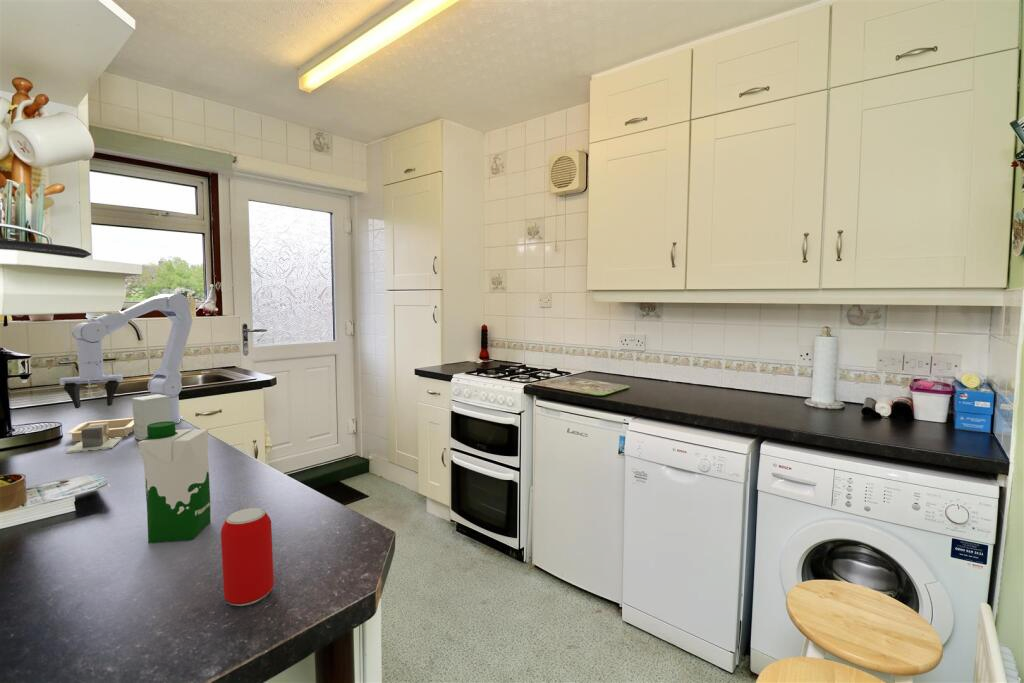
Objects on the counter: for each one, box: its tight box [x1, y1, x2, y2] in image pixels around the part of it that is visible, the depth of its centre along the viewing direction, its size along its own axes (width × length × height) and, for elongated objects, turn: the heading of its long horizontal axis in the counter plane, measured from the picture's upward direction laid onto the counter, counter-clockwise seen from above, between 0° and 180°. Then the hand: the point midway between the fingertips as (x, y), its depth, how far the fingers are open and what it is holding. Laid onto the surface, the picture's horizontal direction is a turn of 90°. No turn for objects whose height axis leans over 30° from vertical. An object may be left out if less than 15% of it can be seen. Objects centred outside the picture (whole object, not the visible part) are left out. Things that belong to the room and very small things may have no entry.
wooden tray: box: [66, 417, 134, 443], centre depth 151 cm, size 15×15×3 cm
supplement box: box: [131, 394, 171, 441], centre depth 147 cm, size 7×7×13 cm
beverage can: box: [220, 507, 275, 607], centre depth 68 cm, size 6×6×12 cm
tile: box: [66, 437, 123, 454], centre depth 139 cm, size 10×10×1 cm
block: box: [81, 422, 109, 448], centre depth 140 cm, size 8×4×5 cm, turn 26°
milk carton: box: [137, 421, 211, 544], centre depth 87 cm, size 9×9×20 cm
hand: (94, 406), depth 148 cm, fingers open, 7 cm apart
